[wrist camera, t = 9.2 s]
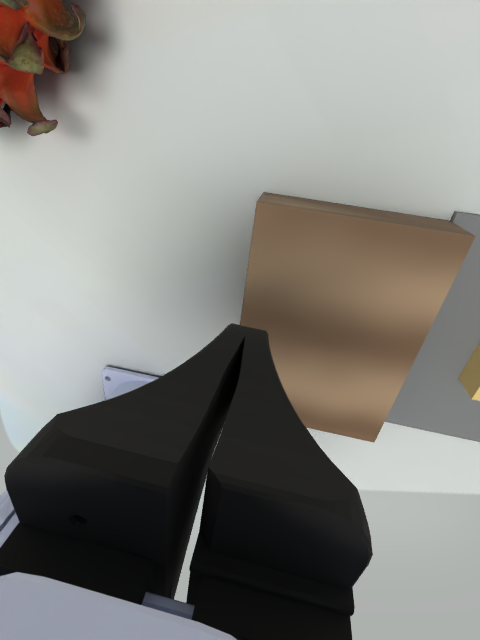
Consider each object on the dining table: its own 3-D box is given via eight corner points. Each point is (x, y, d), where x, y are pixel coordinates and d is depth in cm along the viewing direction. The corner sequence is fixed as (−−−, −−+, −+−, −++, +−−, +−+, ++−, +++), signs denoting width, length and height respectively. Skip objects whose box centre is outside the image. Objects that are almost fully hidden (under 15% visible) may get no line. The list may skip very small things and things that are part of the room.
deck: (367, 409, 24) (374, 442, 22) (236, 382, 25) (228, 410, 23) (450, 220, 17) (475, 236, 15) (264, 192, 18) (256, 202, 16)
